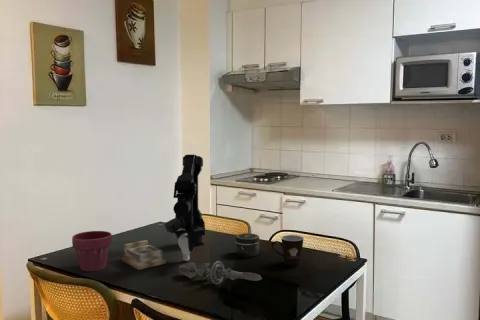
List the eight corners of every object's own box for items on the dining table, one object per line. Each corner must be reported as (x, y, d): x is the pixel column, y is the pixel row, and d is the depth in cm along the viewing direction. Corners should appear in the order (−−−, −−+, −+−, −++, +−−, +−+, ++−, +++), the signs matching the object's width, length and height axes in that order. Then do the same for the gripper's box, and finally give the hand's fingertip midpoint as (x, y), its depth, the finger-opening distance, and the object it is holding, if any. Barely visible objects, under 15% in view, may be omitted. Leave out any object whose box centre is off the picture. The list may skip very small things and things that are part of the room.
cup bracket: (149, 254, 190) (148, 239, 190) (166, 263, 180) (166, 246, 179) (122, 260, 183) (121, 244, 182) (138, 269, 172) (138, 252, 171)
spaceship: (252, 275, 143) (263, 259, 149) (169, 266, 162) (182, 253, 168) (259, 295, 146) (270, 279, 152) (177, 284, 165) (189, 270, 171)
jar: (231, 256, 188) (231, 237, 188) (240, 249, 197) (240, 232, 197) (254, 258, 185) (254, 240, 184) (262, 251, 194) (262, 234, 193)
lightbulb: (178, 258, 184) (178, 231, 183) (194, 258, 185) (194, 231, 184) (177, 263, 178) (177, 235, 177) (194, 263, 178) (193, 235, 177)
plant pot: (101, 259, 185) (100, 228, 183) (119, 267, 175) (118, 234, 173) (67, 267, 175) (65, 235, 173) (83, 277, 165) (82, 242, 163)
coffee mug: (306, 261, 181) (306, 236, 180) (299, 267, 173) (299, 242, 172) (278, 257, 186) (278, 233, 185) (270, 263, 178) (270, 238, 177)
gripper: (155, 209, 181) (156, 248, 183) (180, 218, 167) (181, 259, 169) (179, 206, 188) (180, 243, 190) (205, 213, 174) (206, 253, 176)
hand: (186, 249), depth 181 cm, fingers closed on lightbulb, 6 cm apart
